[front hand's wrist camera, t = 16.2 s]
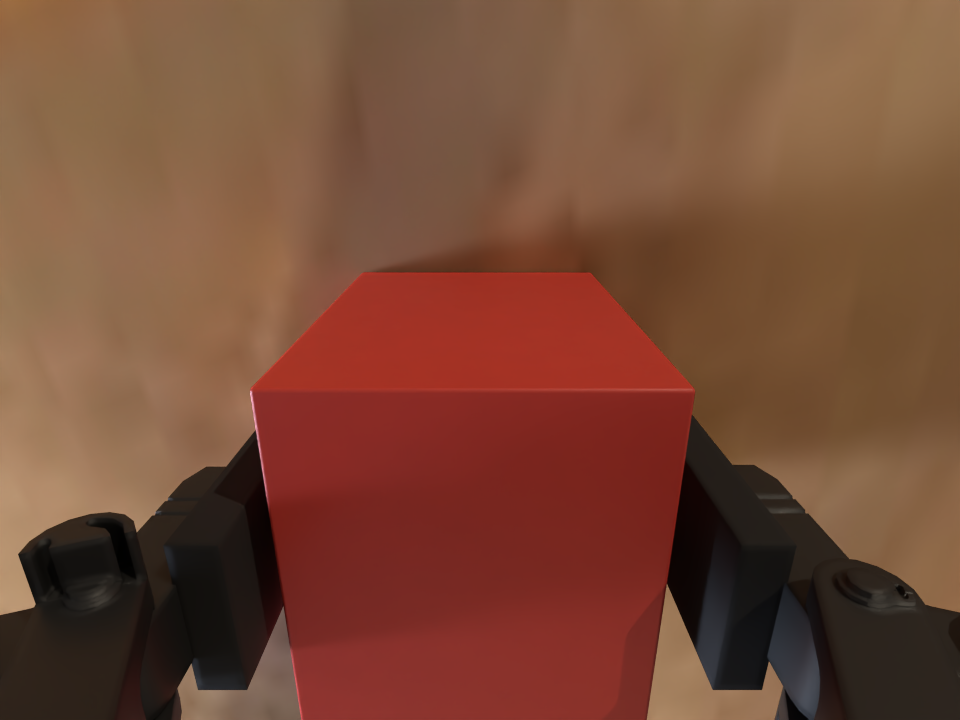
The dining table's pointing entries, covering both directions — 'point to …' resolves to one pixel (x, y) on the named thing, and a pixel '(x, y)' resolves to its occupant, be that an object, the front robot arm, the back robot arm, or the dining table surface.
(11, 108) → the dining table surface
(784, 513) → the front robot arm
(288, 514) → the block
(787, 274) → the dining table surface
